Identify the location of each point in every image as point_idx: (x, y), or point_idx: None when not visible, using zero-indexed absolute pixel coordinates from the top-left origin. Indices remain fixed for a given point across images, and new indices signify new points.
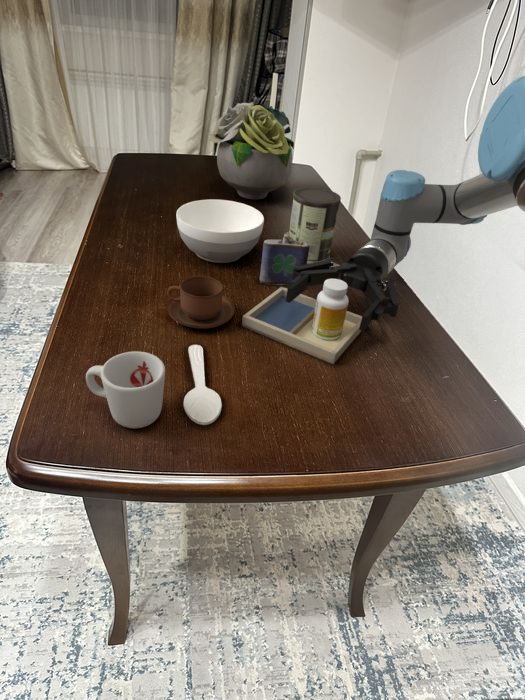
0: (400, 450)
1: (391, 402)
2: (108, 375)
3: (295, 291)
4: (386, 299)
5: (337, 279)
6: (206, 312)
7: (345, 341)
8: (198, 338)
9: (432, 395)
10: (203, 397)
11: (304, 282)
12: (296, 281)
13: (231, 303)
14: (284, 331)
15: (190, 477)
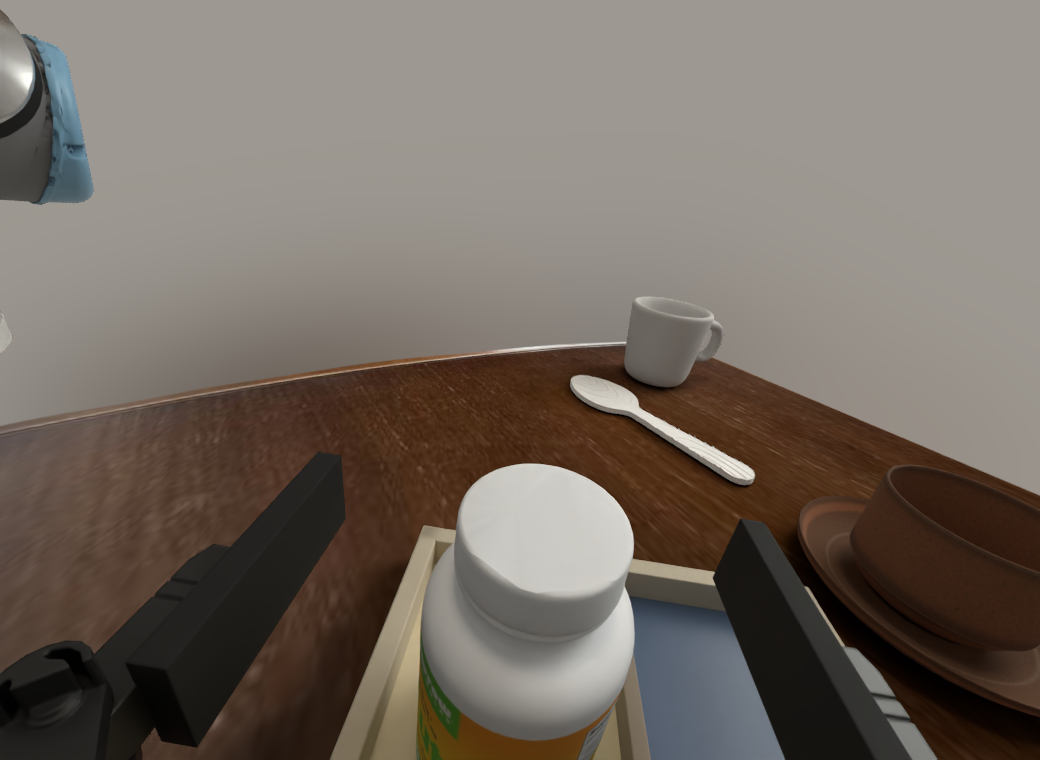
0: (270, 399)
1: (245, 482)
2: (688, 314)
3: (750, 594)
4: (60, 648)
5: (569, 585)
6: (858, 520)
7: (392, 614)
8: (784, 513)
9: (51, 547)
10: (613, 399)
11: (822, 719)
12: (814, 609)
13: (948, 669)
14: (632, 567)
15: (541, 348)
